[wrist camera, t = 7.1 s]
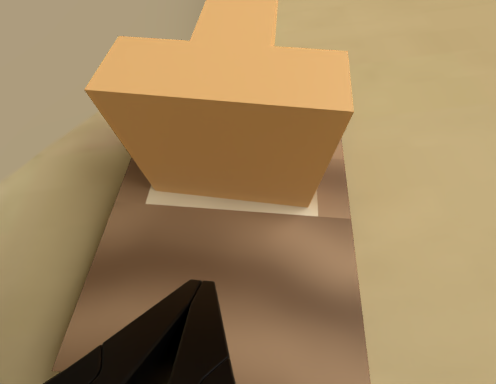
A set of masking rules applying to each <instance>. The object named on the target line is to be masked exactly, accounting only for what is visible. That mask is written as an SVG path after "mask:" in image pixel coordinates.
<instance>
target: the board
mask: <svg viewBox="0 0 496 384" xmlns="http://www.w3.org/2000/svg"><path fill="white" fill-rule="evenodd" d="M190 279H195V280H201V281H202V282H203V281H204V280H206V281H214V282H215V285H216V290H217V295H218V300H219V305H220V310H221V315H222V320H223V325H224V330H225V335H226V340H227V345H228V350H229V355H230V360H231V364H232V369H233V374H234V378H235V382H236V384H371V383H370V374H369V366H368V357H367V349H366V341H365V332H364V324H363V315H362V307H361V299H360V290H359V282H358V273H357V265H356V257H355V248H354V240H353V232H352V223H351V215H350V206H349V198H348V190H347V181H346V173H345V164H344V156H343V148H342V139H341V140H340V142H339V144H338V146H337V148H336V150H335V152H334V154H333V156H332V159H331V161H330V163H329V165H328V167H327V169H326V171H325V173H324V175H323V177H322V180H321V182H320V184H319V186H318V188H317V190H316V192H315V194H314V196H313V199H312V201H311V203H310V205H309V207H308V208H307V207H298V206H289V205H280V204H270V203H261V202H252V201H243V200H234V199H225V198H216V197H207V196H198V195H189V194H180V193H170V192H161V191H155V189H154V188H153V187H152V185H151V184H150V182H149V181H148V180H147V178H146V177H145V175H144V174H143V172H142V171H141V170H140V168H139V167H138V165H137V164H136V162H135V161H134V160H133V158H131V161H130V163H129V166H128V169H127V171H126V174H125V177H124V179H123V182H122V185H121V187H120V190H119V193H118V195H117V198H116V201H115V203H114V206H113V209H112V211H111V214H110V217H109V219H108V222H107V225H106V227H105V230H104V233H103V235H102V238H101V241H100V243H99V246H98V249H97V251H96V254H95V257H94V259H93V262H92V265H91V267H90V270H89V273H88V275H87V278H86V281H85V283H84V286H83V289H82V291H81V294H80V297H79V299H78V302H77V305H76V307H75V310H74V313H73V315H72V318H71V321H70V323H69V326H68V329H67V331H66V334H65V337H64V339H63V342H62V345H61V347H60V350H59V353H58V355H57V358H56V361H55V363H54V366H53V368H52V371H59V372H62V371H63V370H65V369H66V368H68V367H69V366H71V365H72V364H73V363H75V362H76V361H78V360H79V359H81V358H82V357H83V356H85V355H86V354H88V353H89V352H90V351H92V350H93V349H95V348H96V347H97V346H99V345H102V343H103V342H104V341H106V340H107V339H109V338H110V337H111V336H113V335H114V334H115V333H117V332H118V331H120V330H121V329H122V328H124V327H125V326H127V325H128V324H129V323H131V322H132V321H133V320H135V319H136V318H138V317H139V316H140V315H142V314H143V313H144V312H146V311H147V310H149V309H150V308H151V307H153V306H154V305H155V304H157V303H158V302H160V301H161V300H162V299H164V298H165V297H167V296H168V295H169V294H171V293H172V292H173V291H175V290H176V289H178V288H179V287H180V286H182V285H183V284H184V283H186V282H187V281H189V280H190Z"/></svg>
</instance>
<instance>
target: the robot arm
mask: <svg viewBox="0 0 496 384" xmlns="http://www.w3.org/2000/svg"><path fill="white" fill-rule="evenodd" d="M43 384H236V382H235V378H234V374H233V369H232V364H231V360H230V355H229V350H228V345H227V340H226V335H225V330H224V325H223V320H222V315H221V310H220V305H219V300H218V295H217V290H216V285H215V282H214V281H206V280H204V281H203V282H202V281H201V280H195V279H190V280H189V281H187V282H186V283H184V284H183V285H182V286H180V287H179V288H178V289H176V290H175V291H173V292H172V293H171V294H169V295H168V296H167V297H165V298H164V299H162V300H161V301H160V302H158V303H157V304H155V305H154V306H153V307H151V308H150V309H149V310H147V311H146V312H144V313H143V314H142V315H140V316H139V317H138V318H136V319H135V320H133V321H132V322H131V323H129V324H128V325H127V326H125V327H124V328H122V329H121V330H120V331H118V332H117V333H115V334H114V335H113V336H111V337H110V338H109V339H107V340H106V341H104V342H103V343H102V345H99V346H97V347H96V348H95V349H93V350H92V351H90V352H89V353H88V354H86V355H85V356H83V357H82V358H81V359H79V360H78V361H76V362H75V363H73V364H72V365H71V366H69V367H68V368H66V369H65V370H63V371H62V372H60V373H59V374H57V375H56V376H54V377H52V378H51V379H49V380H48V381H46V382H45V383H43Z"/></svg>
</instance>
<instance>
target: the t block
mask: <svg viewBox="0 0 496 384" xmlns="http://www.w3.org/2000/svg"><path fill="white" fill-rule="evenodd" d="M277 7H278V0H206V2H205V4H204V7H203V9H202V12H201V14H200V17H199V19H198V22H197V24H196V27H195V29H194V32H193V34H192V37H191V39H190V41H186V40H170V39H155V38H140V37H139V38H138V37H124V36H119V37H118V38H117V39H116V41H115V42H114V44H113V46H112V47H111V49H110V50H109V52H108V53H107V55H106V57H105V58H104V60H103V61H102V63H101V64H100V66H99V68H98V69H97V71H96V72H95V74H94V75H93V77H92V79H91V80H90V82H89V83H88V85H87V86H86V88H85V91H86V93H87V94H88V96H89V97H90V98H91V100H92V101H93V103H94V104H95V105H96V107H97V108H98V110H99V111H100V113H101V114H102V115H103V117H104V118H105V120H106V121H107V123H108V124H109V125H110V127H111V128H112V130H113V131H114V133H115V134H116V135H117V137H118V138H119V140H120V141H121V143H122V144H123V145H124V147H125V148H126V150H127V151H128V152H129V154H130V155H131V157H132V158H133V160H134V161H135V162H136V164H137V165H138V167H139V168H140V170H141V171H142V172H143V174H144V175H145V177H146V178H147V180H148V181H149V182H150V184H151V185H152V187H153V188H154V189H155V191H161V192H170V193H180V194H189V195H198V196H207V197H216V198H225V199H234V200H243V201H252V202H261V203H270V204H280V205H289V206H298V207H307V208H308V207H309V205H310V203H311V201H312V199H313V196H314V194H315V192H316V190H317V188H318V186H319V184H320V182H321V180H322V177H323V175H324V173H325V171H326V169H327V167H328V165H329V163H330V161H331V159H332V156H333V154H334V152H335V150H336V148H337V146H338V144H339V142H340V140H341V138H342V135H343V133H344V131H345V129H346V127H347V125H348V123H349V121H350V119H351V117H352V114H353V112H354V109H353V99H352V89H351V79H350V69H349V59H348V51H339V50H323V49H308V48H293V47H277V46H274V44H275V32H276V19H277Z"/></svg>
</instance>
